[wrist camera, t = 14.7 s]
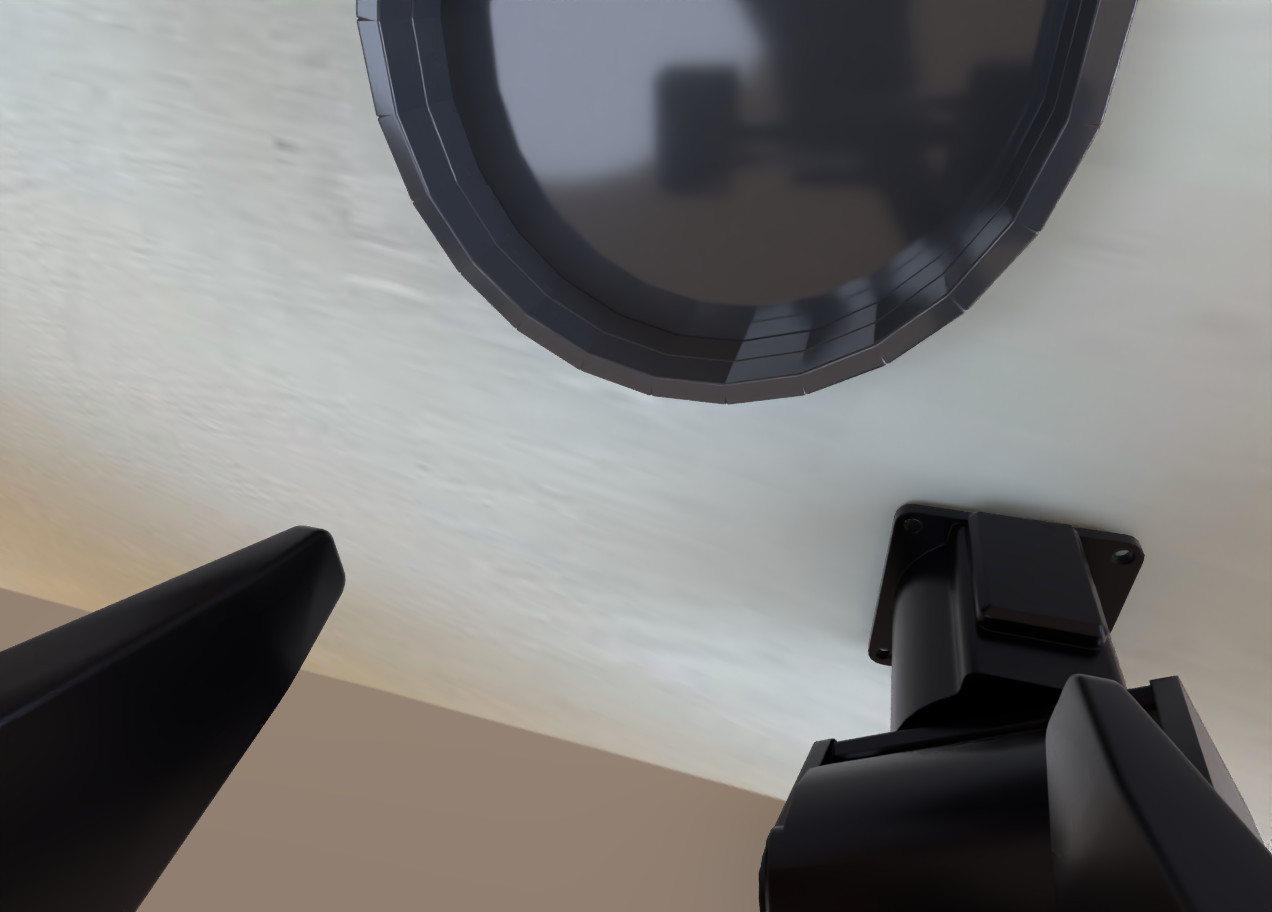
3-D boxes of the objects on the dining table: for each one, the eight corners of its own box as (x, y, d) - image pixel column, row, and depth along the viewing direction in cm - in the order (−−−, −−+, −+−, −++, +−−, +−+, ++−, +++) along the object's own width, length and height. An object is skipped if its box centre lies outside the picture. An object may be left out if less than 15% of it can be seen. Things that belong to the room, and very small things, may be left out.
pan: (997, 380, 19) (1010, 439, 17) (477, 329, 23) (428, 370, 21) (1241, -537, 11) (1338, -684, 8) (364, -366, 15) (260, -433, 12)
